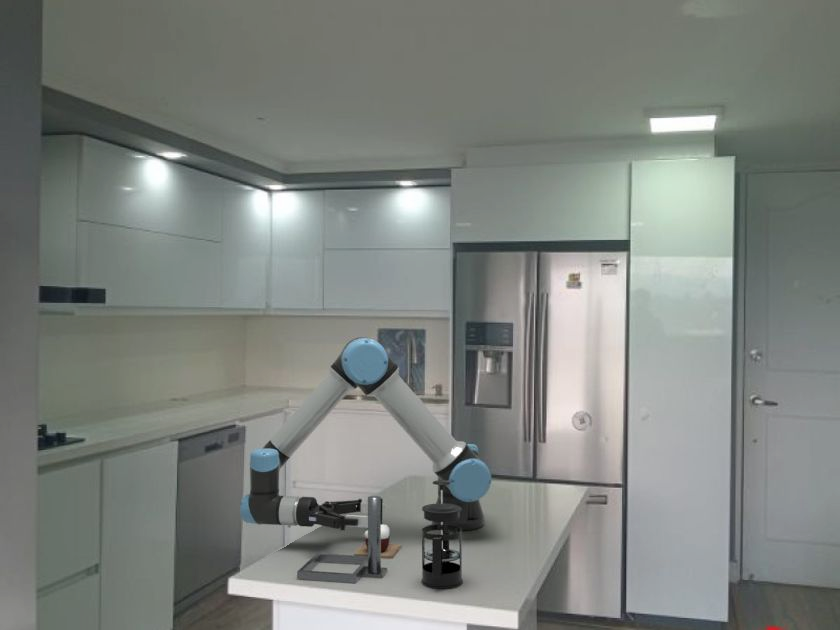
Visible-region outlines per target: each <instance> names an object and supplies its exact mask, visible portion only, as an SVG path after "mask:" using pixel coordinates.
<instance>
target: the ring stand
mask: <svg viewBox="0 0 840 630" xmlns="http://www.w3.org/2000/svg"><path fill="white" fill-rule="evenodd" d="M381 498H382V497H381V496H380V495H368V496H367V502H368V513H367V516H368V528H367V530H368V556H354V554H353V555H350V554H336V553H320V552H319V553H317V552H316V554H315V555H313V556H312V557H311V558H310V559H309V560H308V561H307V562H306V563H305V564H304V565H302V566H301V567H300V568H299V569H298V570H297V571H296V579H297V580H299V581H300V580H302V581H316V582H318V581H320V582H331V583H333V582H335V583H346V584H348V583H349V584H357V583H358V581H359V580H360V579H361V578H374V579H375V578H378V579H383V578H384V576H386V574H387V573H388V567H382V562H381V561H382V558H381ZM319 563H329V564H330V563H331V564H342V565H343V564H345V565H346V564H347V565H359V566H358V567H357V568H356V569H355V570H354V571H353V572H352V573H348V572H332V571H318V570H317V571H315V570H313V569H314V568H315V567H316V566H318V564H319Z"/></svg>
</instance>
